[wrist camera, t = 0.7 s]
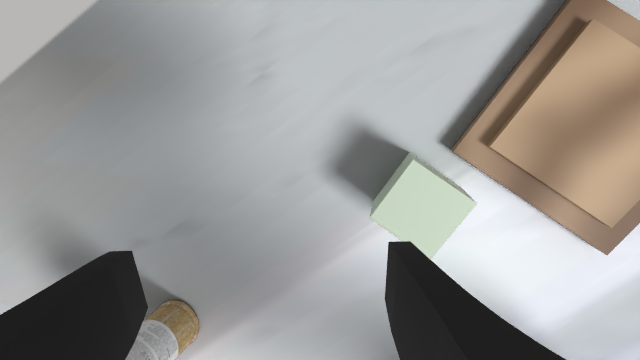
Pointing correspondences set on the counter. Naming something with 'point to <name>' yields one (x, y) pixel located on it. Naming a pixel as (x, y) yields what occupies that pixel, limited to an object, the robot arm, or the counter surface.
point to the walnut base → (570, 124)
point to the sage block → (421, 205)
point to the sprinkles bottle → (165, 333)
